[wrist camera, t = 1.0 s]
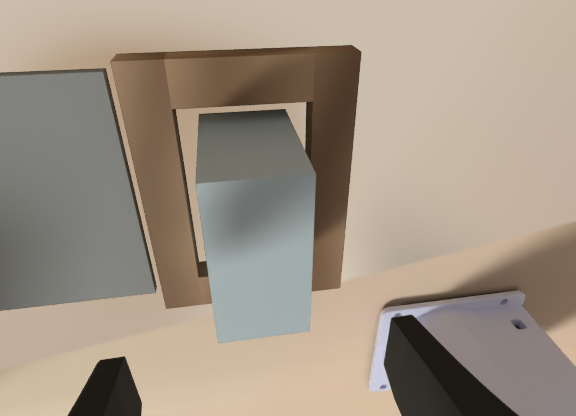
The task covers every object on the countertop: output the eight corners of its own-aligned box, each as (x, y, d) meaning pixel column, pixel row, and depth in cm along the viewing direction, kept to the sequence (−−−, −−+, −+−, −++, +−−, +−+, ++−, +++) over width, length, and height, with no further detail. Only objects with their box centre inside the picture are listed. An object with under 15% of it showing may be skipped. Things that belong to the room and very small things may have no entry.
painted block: (285, 108, 18) (316, 174, 13) (285, 240, 21) (310, 331, 16) (198, 114, 17) (195, 183, 12) (215, 248, 21) (218, 343, 16)
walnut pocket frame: (352, 45, 16) (361, 51, 15) (334, 273, 23) (340, 287, 22) (116, 53, 15) (110, 61, 14) (168, 292, 22) (166, 308, 21)
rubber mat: (105, 68, 15) (102, 71, 15) (156, 286, 21) (155, 292, 21) (-136, 78, 14) (-146, 82, 14) (-12, 304, 20) (-16, 312, 20)
